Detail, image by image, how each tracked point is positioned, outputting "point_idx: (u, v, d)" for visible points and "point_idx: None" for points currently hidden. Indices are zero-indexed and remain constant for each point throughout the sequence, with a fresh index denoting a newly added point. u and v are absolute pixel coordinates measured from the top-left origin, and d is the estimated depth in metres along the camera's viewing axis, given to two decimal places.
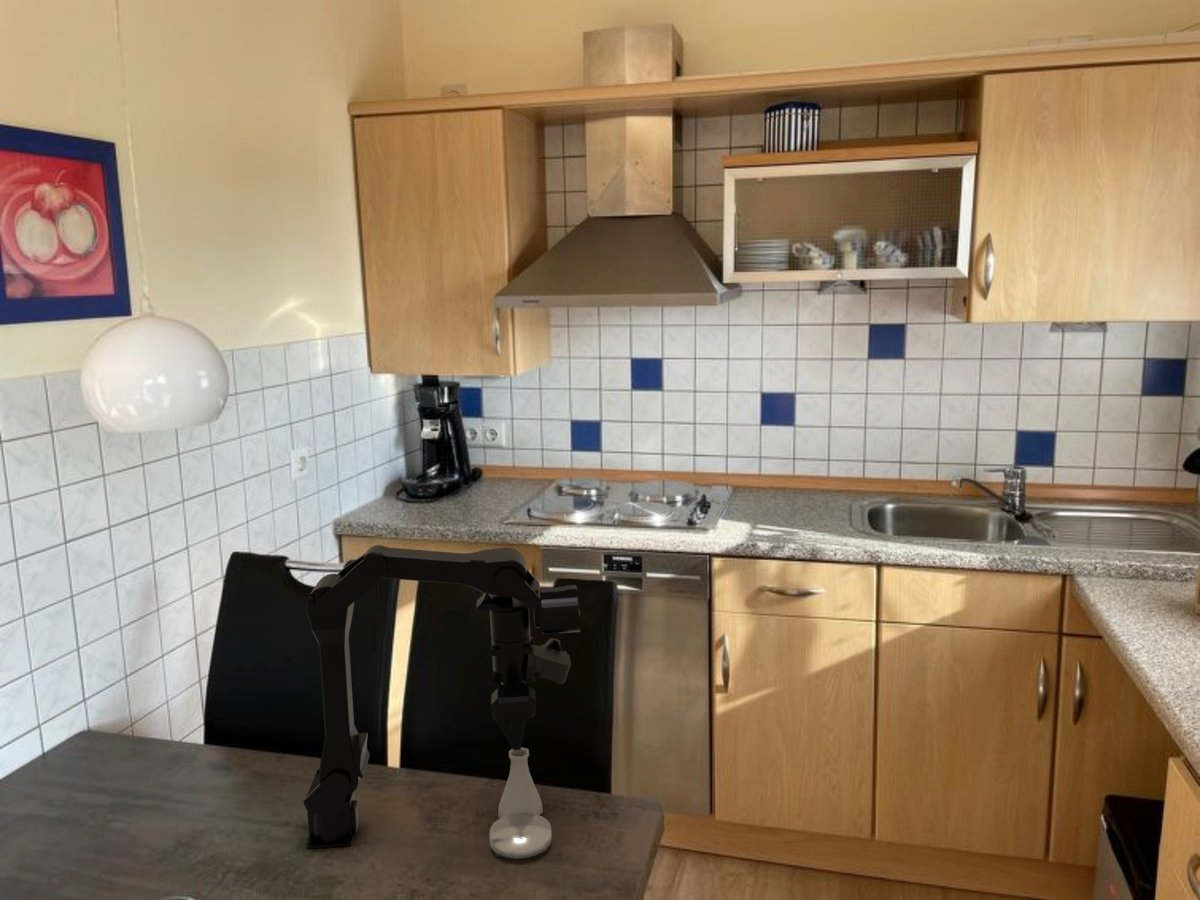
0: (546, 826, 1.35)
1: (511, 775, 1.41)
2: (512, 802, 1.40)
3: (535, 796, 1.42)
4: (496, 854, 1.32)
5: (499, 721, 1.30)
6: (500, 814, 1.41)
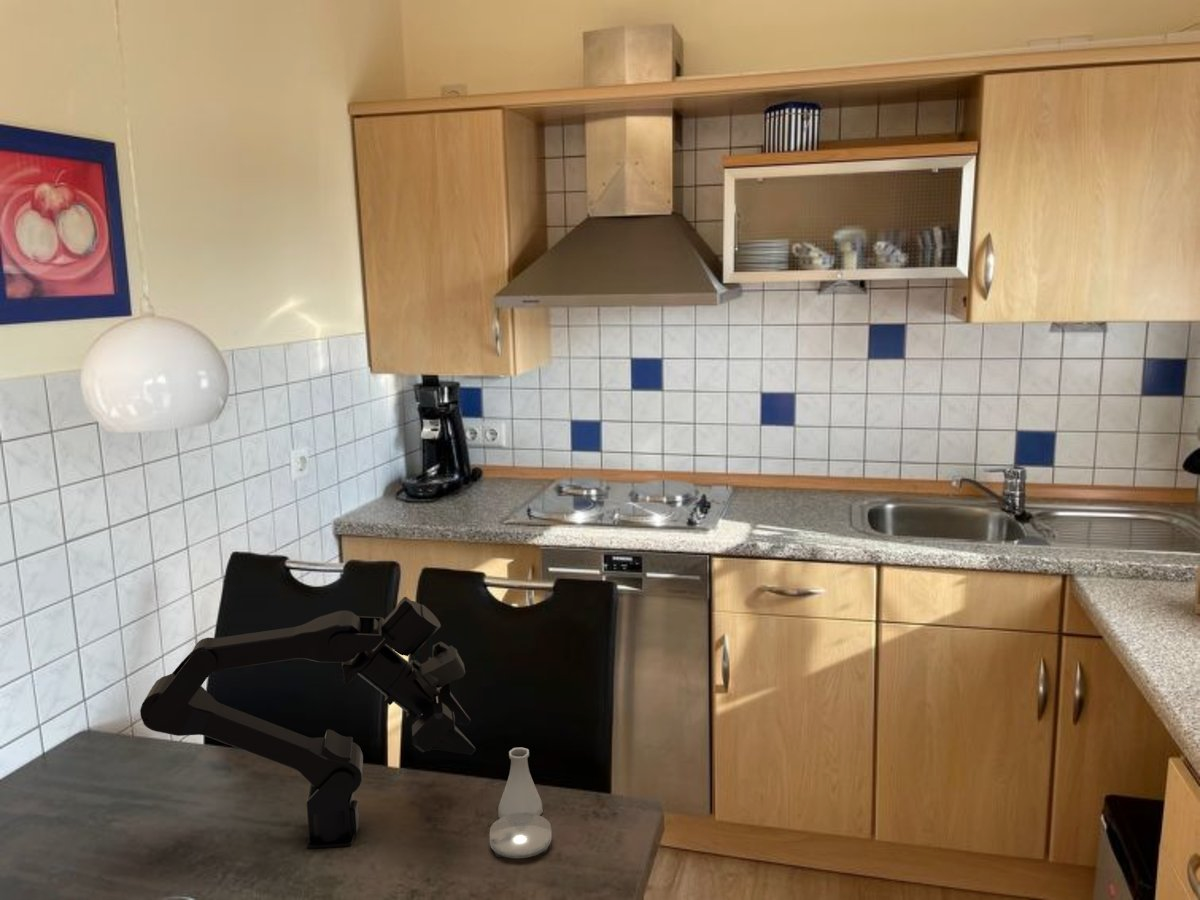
0: (546, 826, 1.35)
1: (511, 775, 1.41)
2: (512, 802, 1.40)
3: (535, 796, 1.42)
4: (496, 854, 1.32)
5: (436, 747, 1.31)
6: (500, 814, 1.41)
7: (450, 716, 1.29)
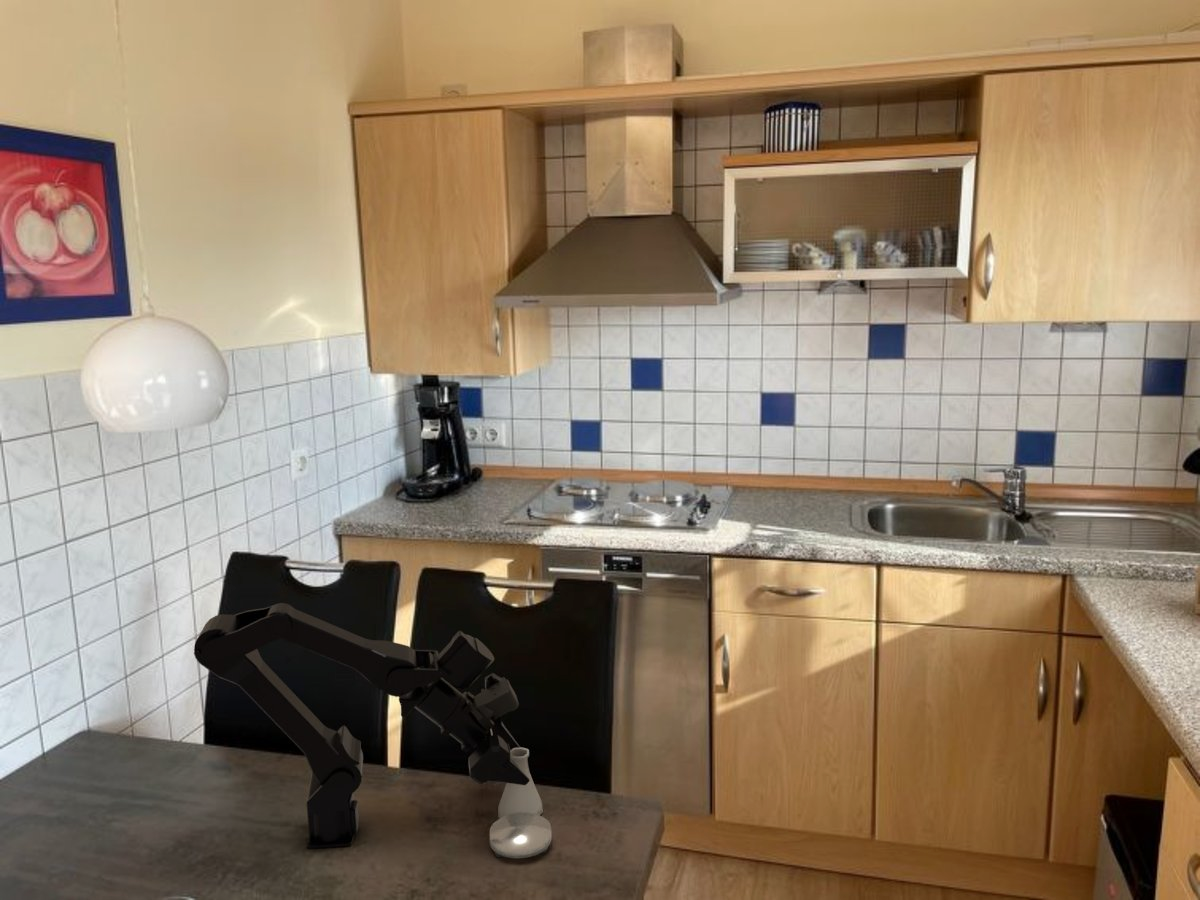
0: (546, 826, 1.35)
1: None
2: (512, 802, 1.40)
3: (535, 796, 1.42)
4: (496, 854, 1.32)
5: (492, 779, 1.34)
6: (500, 814, 1.41)
7: (506, 749, 1.32)
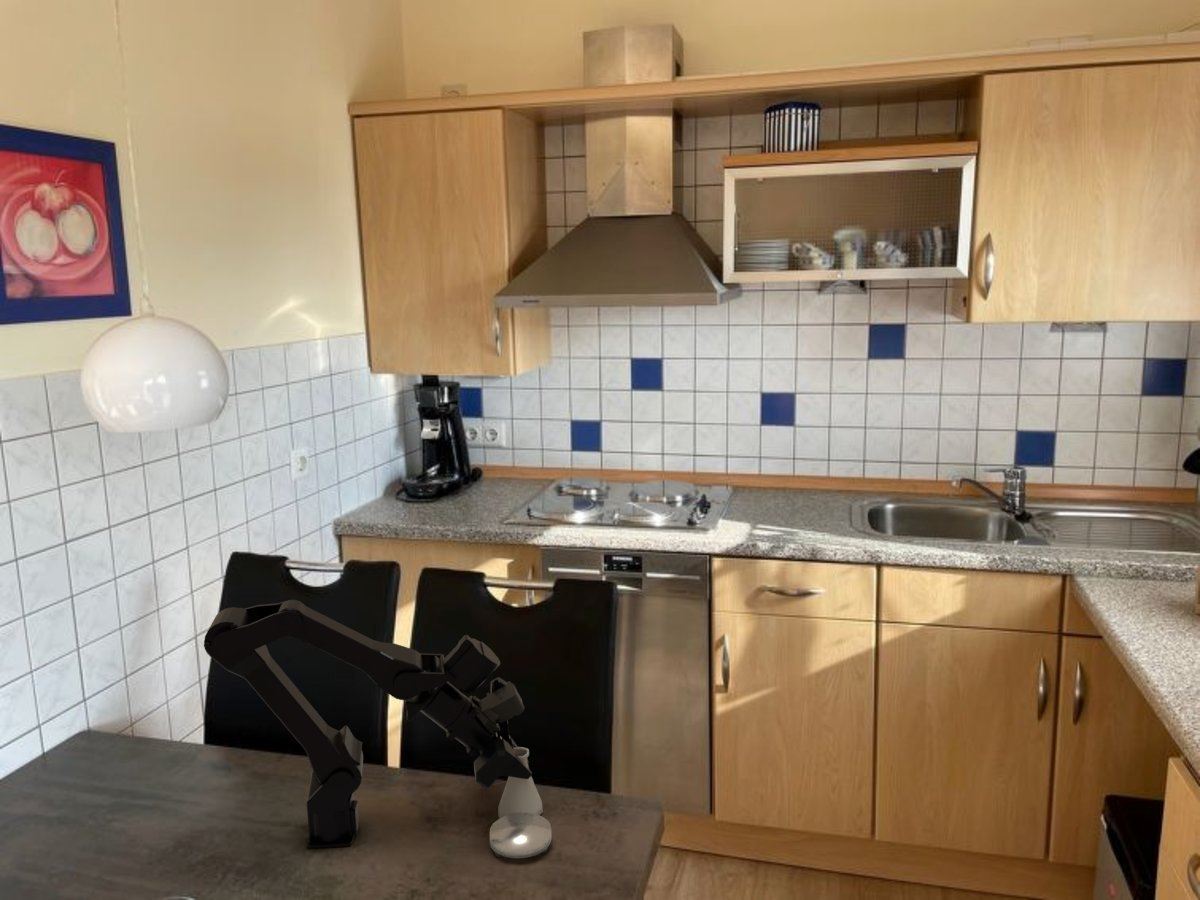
0: (546, 826, 1.35)
1: None
2: (512, 802, 1.40)
3: (535, 796, 1.42)
4: (496, 854, 1.32)
5: None
6: (500, 814, 1.41)
7: (512, 753, 1.32)
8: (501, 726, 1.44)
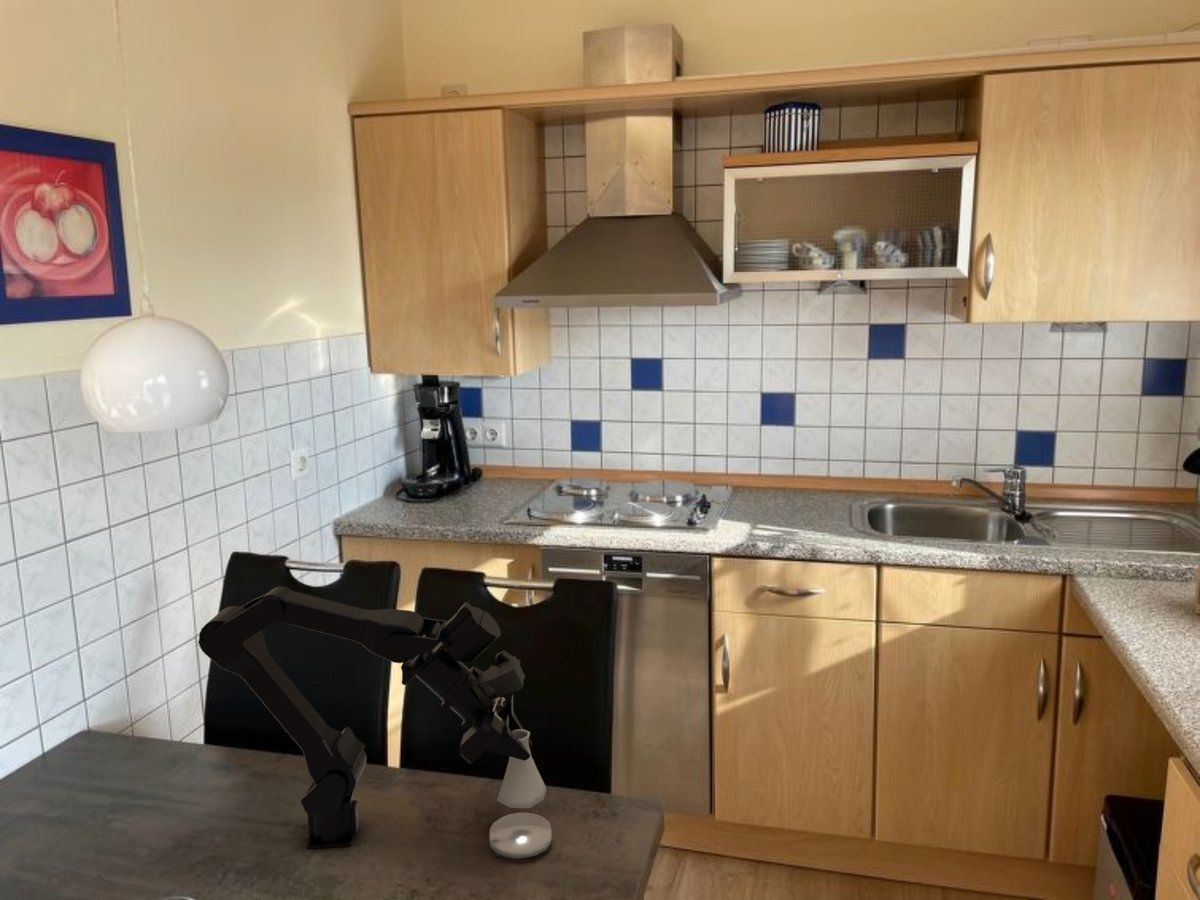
0: (546, 826, 1.35)
1: (510, 757, 1.34)
2: (510, 786, 1.34)
3: (535, 782, 1.34)
4: (496, 854, 1.32)
5: (488, 749, 1.31)
6: (498, 797, 1.34)
7: (499, 730, 1.25)
8: (505, 702, 1.37)
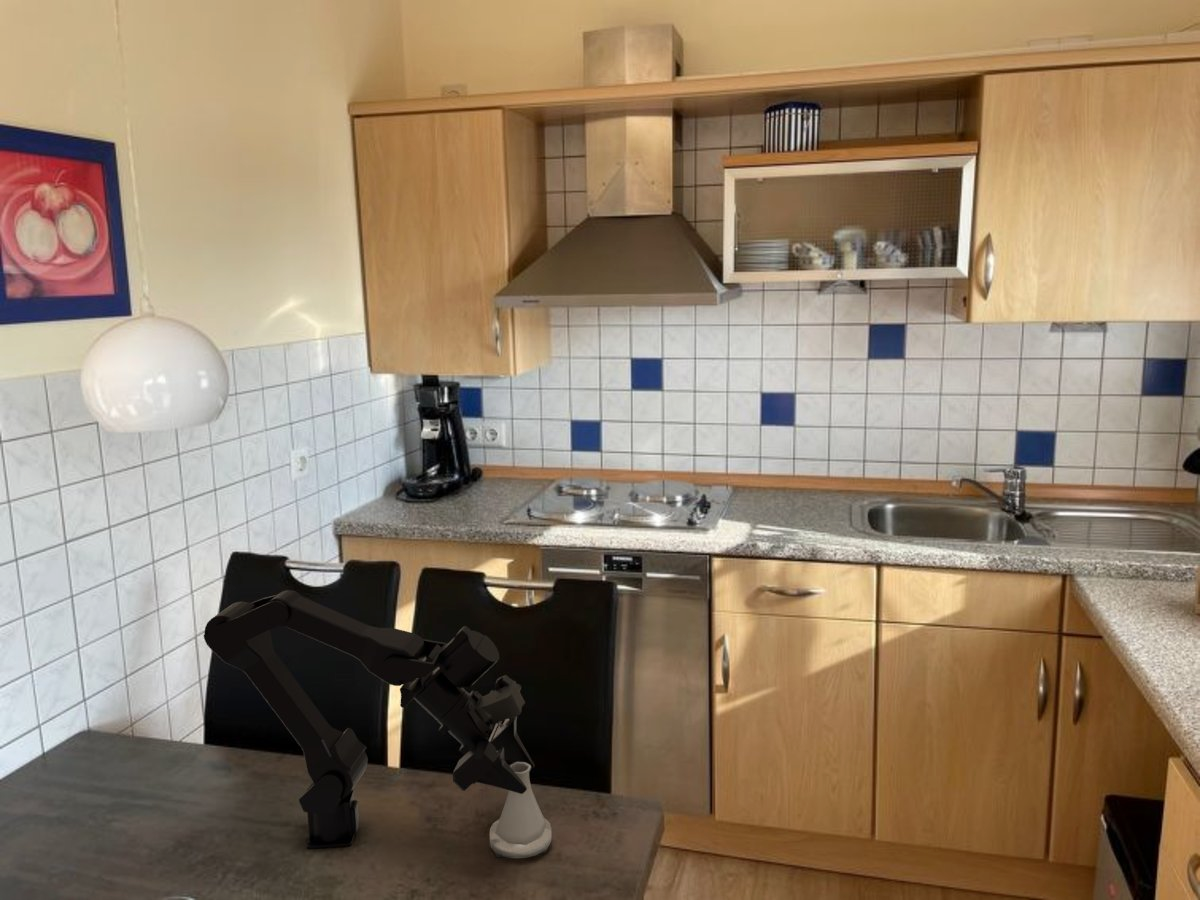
0: (546, 826, 1.35)
1: (509, 790, 1.32)
2: (508, 819, 1.31)
3: (534, 817, 1.32)
4: (496, 854, 1.32)
5: (483, 781, 1.28)
6: (496, 830, 1.32)
7: (492, 758, 1.23)
8: (509, 723, 1.36)
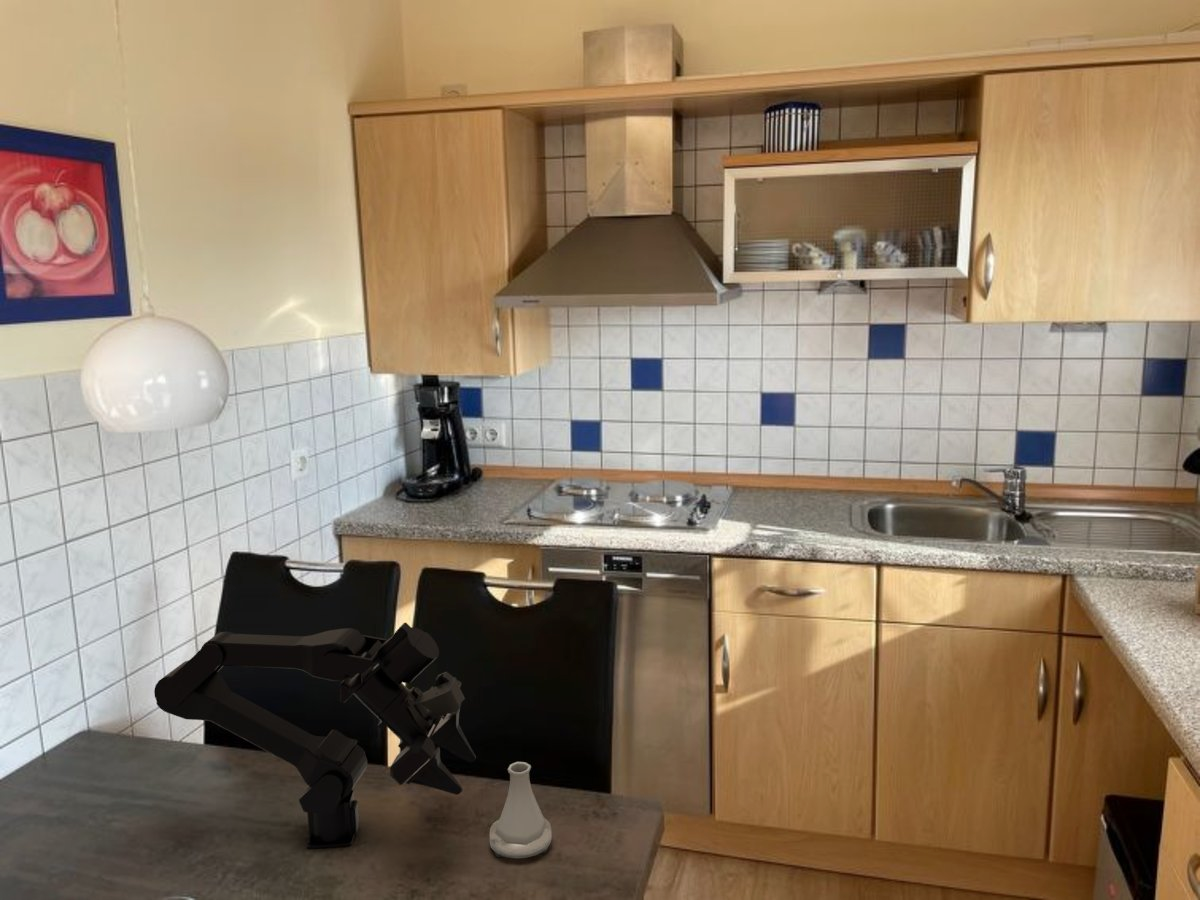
0: (546, 826, 1.35)
1: (509, 790, 1.32)
2: (508, 819, 1.31)
3: (534, 817, 1.32)
4: (496, 854, 1.32)
5: (418, 781, 1.27)
6: (496, 830, 1.32)
7: (430, 752, 1.24)
8: (451, 715, 1.39)
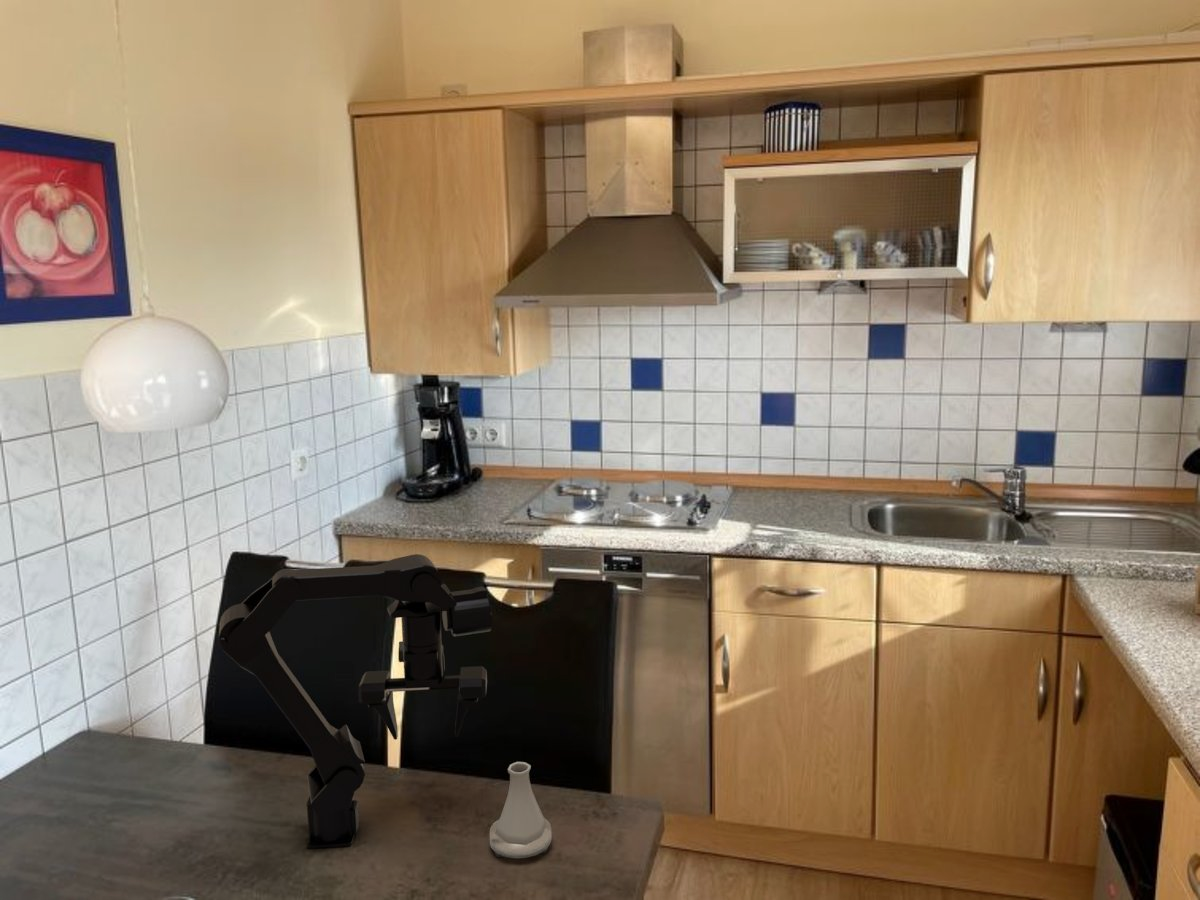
0: (546, 826, 1.35)
1: (509, 790, 1.32)
2: (508, 819, 1.31)
3: (534, 817, 1.32)
4: (496, 854, 1.32)
5: None
6: (496, 830, 1.32)
7: None
8: None
